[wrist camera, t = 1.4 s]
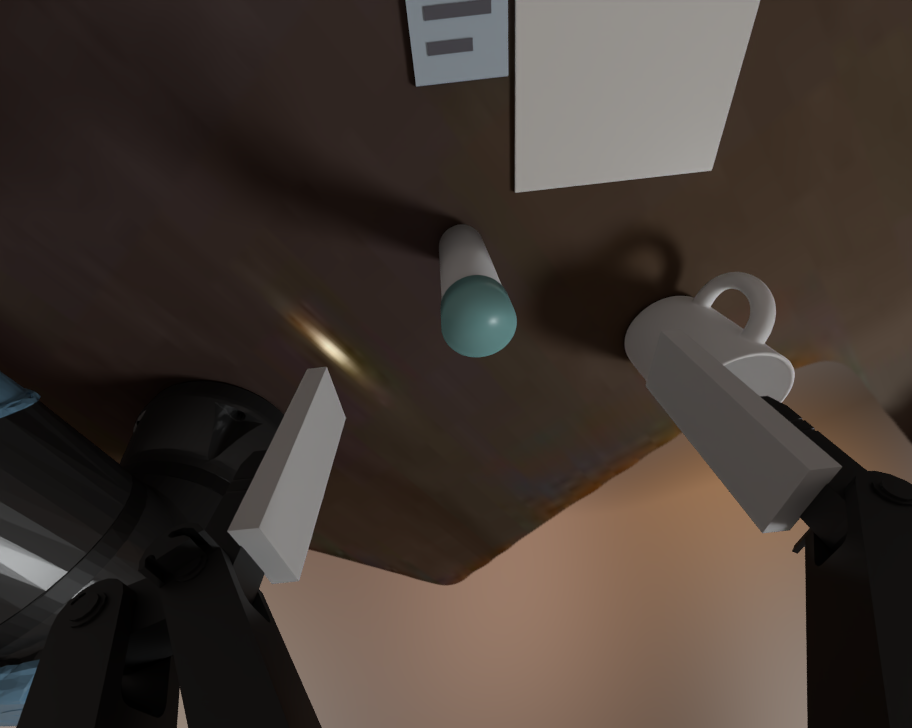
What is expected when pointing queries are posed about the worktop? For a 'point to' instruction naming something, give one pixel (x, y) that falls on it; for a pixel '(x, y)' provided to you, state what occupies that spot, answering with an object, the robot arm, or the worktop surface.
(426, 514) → the worktop surface
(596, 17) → the paper
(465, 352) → the marker
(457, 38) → the word card
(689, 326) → the mug
